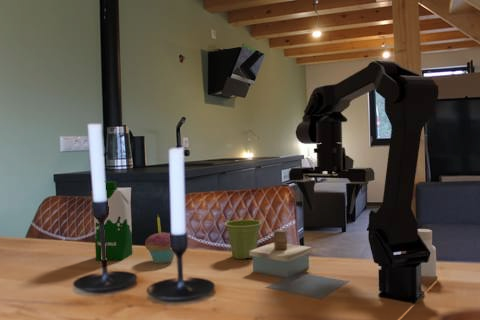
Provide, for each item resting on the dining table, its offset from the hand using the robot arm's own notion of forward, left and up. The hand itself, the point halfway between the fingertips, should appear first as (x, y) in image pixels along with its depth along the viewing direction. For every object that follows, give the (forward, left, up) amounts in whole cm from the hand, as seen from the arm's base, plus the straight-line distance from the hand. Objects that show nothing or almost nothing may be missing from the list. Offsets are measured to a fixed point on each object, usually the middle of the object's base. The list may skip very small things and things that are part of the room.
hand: (330, 212), depth 99 cm
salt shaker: (-19, -4, -13) cm, 23 cm away
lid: (+8, +9, -8) cm, 15 cm away
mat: (-2, +15, -12) cm, 20 cm away
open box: (+8, +9, -12) cm, 17 cm away
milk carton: (+52, +21, -13) cm, 57 cm away
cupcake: (+38, +17, -13) cm, 43 cm away
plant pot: (+23, +3, -13) cm, 26 cm away
